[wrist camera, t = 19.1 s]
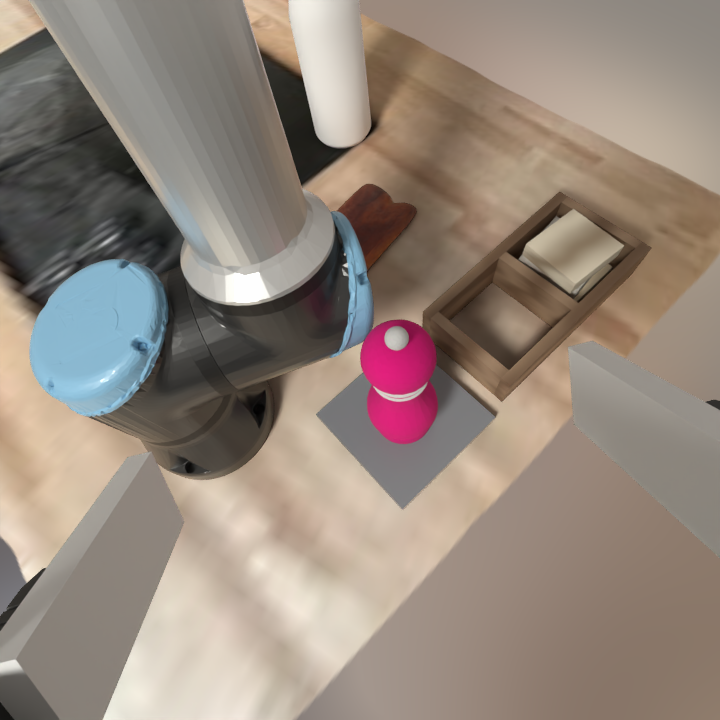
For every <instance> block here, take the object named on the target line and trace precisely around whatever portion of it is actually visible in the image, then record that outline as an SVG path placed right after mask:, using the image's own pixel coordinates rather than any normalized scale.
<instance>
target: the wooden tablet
mask: <svg viewBox="0 0 720 720" xmlns="http://www.w3.org/2000/svg"><path fill="white" fill-rule="evenodd" d="M337 212H340V213H342V214H343V215H345V217H346V218H347V219H348V220H349V222H350V224H351V226H352V228H353V230H354V232H355V234H356V236H357V238H358V241H359V244H360V246H361V249H362V252H363V255H364V259H365V262H366V267H367V270H368V269H369V268H370V267H371V266H372V265H373V263H374V262H375V261H376V260H377V259H378V258H379V257H380V256H381V254H382V253H383V252H384V251H385V250H386V249H387V248H388V247H389V246H390V244H391V243H392V242H393V241H394V240H395V239H396V238H397V237H398V236H399V235H400V234H401V232H402V231H403V230H404V229H405V228H406V227H407V226H408V224H409V223H410V222H411V220H412V219H413V217H414V216H415V214H416V212H417V210H416V208H415V207H414V206H412V205H410V204H407V203H393V202H392V199H391V198H390V196H389V195H388V194H387V193H386V192H385V191H383V190H382V189H381V188H379V187H377V186H375V185H373V184H366V185H364V186H362V187H361V188H360V189H359V190H358V191H357V192H356V193H354V194H353V195H352V196H351V197H350V198H349V199H348V200H347V201H346V202H345V203H344V204H343V205H342V206H341V207H340V208H339V209H338V211H337Z"/></svg>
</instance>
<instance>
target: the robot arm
mask: <svg viewBox="0 0 720 720" xmlns="http://www.w3.org/2000/svg"><path fill="white" fill-rule="evenodd" d="M29 2H30V3H31V5H32V6H33V8H34V10H35V11H36V13H37V14H38V16H39V17H40V19H41V20H42V22H43V23H44V25H45V26H46V28H47V29H48V31H49V32H50V34H51V35H52V37H53V38H54V40H55V41H56V43H57V45H58V46H59V48H60V49H61V51H62V52H63V54H64V55H65V57H66V58H67V60H68V61H69V63H70V64H71V66H72V67H73V69H74V70H75V72H76V73H77V75H78V76H79V78H80V79H81V81H82V83H83V84H84V86H85V87H86V89H87V90H88V92H89V93H90V95H91V96H92V98H93V99H94V101H95V102H96V104H97V105H98V107H99V108H100V110H101V111H102V113H103V114H104V116H105V118H106V119H107V121H108V122H109V124H110V125H111V127H112V128H113V130H114V131H115V133H116V134H117V136H118V137H119V139H120V140H121V142H122V143H123V145H124V146H125V148H126V149H127V151H128V153H129V154H130V156H131V157H132V159H133V160H134V162H135V163H136V165H137V166H138V168H139V169H140V171H141V172H142V174H143V175H144V177H145V178H146V180H147V181H148V183H149V184H150V186H151V188H152V189H153V191H154V192H155V194H156V195H157V197H158V198H159V200H160V201H161V203H162V204H163V206H164V207H165V209H166V210H167V212H168V213H169V215H170V216H171V218H172V219H173V221H174V223H175V224H176V226H177V227H178V229H179V230H180V232H181V233H182V235H183V236H184V238H185V240H184V243H183V245H182V249H181V266H180V267H178V268H175V269H172V270H169V271H166V272H164V273H161V274H158V275H156V274H155V273H154V272H153V271H152V270H150V269H149V268H148V267H146V266H143V265H140V264H138V263H130V262H129V261H127V260H124V259H111V260H106V261H101V262H98V263H95V264H92V265H90V266H88V267H86V268H84V269H82V270H80V271H78V272H77V273H75V274H74V275H72V276H71V277H70V278H69V279H67V280H66V281H65V282H64V283H63V284H61V285H60V286H59V287H58V288H57V290H56V291H55V292H54V293H53V294H52V295H51V297H50V298H49V299H48V302H47V304H46V306H45V307H44V308H43V310H42V311H41V312H40V314H39V316H38V318H37V320H36V322H35V325H34V328H33V331H32V335H31V340H30V362H31V367H32V370H33V373H34V376H35V378H36V379H37V381H38V383H39V384H40V385H41V387H42V388H43V389H44V390H45V391H46V392H47V393H48V394H50V395H51V396H52V397H54V398H56V399H57V400H59V401H61V402H63V403H64V404H66V405H67V406H68V407H69V408H70V409H71V410H73V411H75V412H77V413H78V414H80V415H83V416H87V417H90V418H92V419H94V420H97V421H99V422H101V423H104V424H106V425H108V426H111V427H113V428H115V429H118V430H120V431H122V432H125V433H127V434H129V435H132V436H134V437H136V438H139V439H141V441H142V443H143V444H144V446H145V448H146V449H147V451H148V452H147V453H143V454H139V455H135V456H131V457H127V459H126V460H125V461H124V463H123V464H122V465H121V467H120V468H119V470H118V471H117V472H116V474H115V475H114V476H113V478H112V479H111V480H110V482H109V483H108V485H107V486H106V487H105V489H104V490H103V491H102V493H101V494H100V496H99V497H98V498H97V500H96V501H95V502H94V504H93V505H92V506H91V508H90V509H89V511H88V512H87V513H86V515H85V516H84V517H83V519H82V520H81V522H80V523H79V524H78V526H77V527H76V528H75V530H74V531H73V532H72V534H71V535H70V537H69V538H68V539H67V541H66V542H65V543H64V545H63V546H62V548H61V549H60V550H59V552H58V553H57V554H56V556H55V557H54V558H53V560H52V561H51V563H50V564H49V565H48V567H47V568H44V569H42V570H41V571H40V572H39V573H38V574H37V575H35V576H34V577H33V578H32V579H31V580H30V581H29V582H28V583H27V584H25V585H24V586H23V587H22V588H21V590H20V591H19V592H18V594H17V595H16V596H15V597H14V599H13V600H12V602H11V603H10V604H9V605H8V607H7V611H6V612H3V614H2V615H1V616H0V720H102V719H103V717H104V715H105V712H106V710H107V707H108V705H109V703H110V700H111V698H112V695H113V693H114V690H115V688H116V686H117V683H118V681H119V678H120V676H121V674H122V671H123V669H124V666H125V664H126V662H127V659H128V657H129V654H130V652H131V649H132V647H133V645H134V642H135V640H136V637H137V635H138V633H139V630H140V628H141V625H142V623H143V620H144V618H145V616H146V613H147V611H148V608H149V606H150V604H151V601H152V599H153V596H154V594H155V592H156V589H157V587H158V584H159V582H160V579H161V577H162V575H163V572H164V570H165V567H166V565H167V563H168V560H169V558H170V555H171V553H172V550H173V548H174V546H175V543H176V541H177V538H178V536H179V534H180V531H181V529H182V526H183V524H184V520H183V517H182V515H181V513H180V511H179V509H178V507H177V505H176V503H175V500H174V498H173V496H172V494H171V492H170V490H169V488H168V486H167V483H166V481H165V479H164V477H163V475H162V473H161V471H160V468H159V466H158V464H159V465H160V466H162V467H163V468H165V469H166V470H168V471H170V472H172V473H175V474H177V475H180V476H182V477H185V478H189V479H196V480H208V479H214V478H218V477H222V476H225V475H227V474H229V473H232V472H233V471H235V470H237V469H239V468H240V467H242V466H243V465H244V464H246V463H247V462H248V461H249V460H250V459H251V458H252V457H253V456H254V455H255V454H256V453H257V452H258V451H259V449H260V448H261V446H262V445H263V443H264V442H265V440H266V438H267V436H268V434H269V431H270V429H271V426H272V422H273V416H274V399H273V394H272V391H271V388H270V386H269V383H268V382H267V380H269V379H271V378H274V377H277V376H280V375H282V374H285V373H288V372H291V371H293V370H296V369H299V368H302V367H304V366H307V365H310V364H313V363H315V362H318V361H321V360H324V359H326V358H332V357H336V356H337V355H339V354H341V353H342V352H343V351H344V350H346V349H349V348H351V347H353V346H355V345H358V344H360V343H362V342H363V341H364V340H365V338H366V337H367V335H368V334H369V333H370V332H371V330H372V327H373V321H374V304H373V295H372V289H371V284H370V282H369V279H368V278H367V267H366V262H365V259H364V255H363V252H362V249H361V246H360V244H359V241H358V238H357V236H356V234H355V232H354V230H353V228H352V226H351V224H350V222H349V220H348V219H347V218H346V217H345V215H343V214H342V213H340V212H336V211H332V212H330V211H329V209H328V207H327V206H326V205H325V204H324V202H323V201H322V200H321V199H320V198H319V197H317V196H316V195H314V194H313V193H311V192H309V191H307V190H304V189H302V187H301V184H300V181H299V178H298V175H297V171H296V168H295V165H294V162H293V159H292V155H291V152H290V149H289V146H288V142H287V139H286V136H285V133H284V130H283V126H282V123H281V120H280V117H279V114H278V110H277V107H276V104H275V101H274V97H273V94H272V91H271V88H270V85H269V81H268V78H267V75H266V72H265V69H264V65H263V62H262V59H261V56H260V52H259V49H258V46H257V43H256V40H255V36H254V33H253V30H252V27H251V24H250V20H249V17H248V14H247V11H246V8H245V4H244V1H243V0H29ZM568 353H569V366H570V380H571V393H572V407H573V420H574V425H575V426H576V427H577V428H579V430H580V431H582V432H583V433H584V434H585V435H586V436H587V437H588V438H589V439H590V440H591V441H592V442H594V443H595V444H596V445H597V446H598V447H599V448H600V449H601V450H603V452H604V453H606V454H607V455H608V456H609V457H610V458H611V459H612V460H613V461H614V462H615V463H617V464H618V465H619V466H620V467H621V468H622V469H623V470H624V471H625V472H626V473H627V474H629V475H630V476H631V477H632V478H633V479H634V480H635V481H636V482H637V483H638V484H639V485H641V486H642V487H643V488H644V489H645V490H646V491H647V492H648V493H649V494H650V495H651V496H653V497H654V498H655V499H656V500H657V501H658V502H659V503H660V504H661V505H662V506H663V507H665V508H666V509H667V510H668V511H669V512H670V513H671V514H672V515H673V516H674V517H675V518H677V519H678V520H679V521H680V522H681V523H682V524H683V525H684V526H685V527H686V528H687V529H689V530H690V531H691V532H692V533H693V534H694V535H695V536H696V537H697V538H698V539H699V540H701V541H702V542H703V543H704V544H705V545H706V546H707V547H708V548H709V549H710V550H712V551H713V552H714V553H715V554H716V555H717V556H718V557H719V558H720V401H717V400H711V401H707V402H704V401H702V400H700V399H698V398H696V397H695V396H693V395H691V394H689V393H687V392H686V391H684V390H682V389H680V388H678V387H676V386H675V385H673V384H671V383H669V382H667V381H665V380H664V379H662V378H660V377H658V376H656V375H654V374H653V373H651V372H649V371H647V370H645V369H643V368H641V367H640V366H638V365H636V364H634V363H632V362H630V361H629V360H627V359H625V358H623V357H621V356H619V355H618V354H616V353H614V352H612V351H610V350H608V349H607V348H605V347H603V346H601V345H599V344H597V343H596V342H594V341H590V342H586V343H582V344H578V345H574V346H570V347H568ZM157 463H158V464H157Z"/></svg>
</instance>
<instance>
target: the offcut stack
mask: <svg viewBox="0 0 720 720" xmlns="http://www.w3.org/2000/svg"><path fill="white" fill-rule="evenodd" d="M623 247H624V245H623V244H621V243H620V242H619V241H617V240H616V239H614V238H613V237H612V236H610V235H609V234H608V233H606V232H605V231H603V230H602V229H601V228H599V227H598V226H597V225H595V224H594V223H592V222H591V221H590V220H588V219H587V218H586V217H584V216H583V215H581V214H580V213H579V212H577V211H576V210H575V209H572V210H571V211H570V212H568V213H567V214H566V215H564V216H563V217H562V218H559V217H557V216H556V217H555V218H554V219H553V220H552V221H551V223H550V224H549V225H548V226H547V227H546V228H545V229H544V230H543V232H541V233H540V234H539V235H537V236H536V237H535V238H533V239H532V240H531V241H529V242H528V243H527V244H526V245H525V248H524V251H523V254H522V255H521V256H520V258H519V259H518V261H520V262H521V263H523V264H524V265H525V266H527V267H528V268H530V269H531V270H532V271H534V272H535V273H537V274H538V275H540V276H541V277H542V278H544V279H545V280H547V281H548V282H549V283H551V284H552V285H554V286H555V287H556V288H558V289H559V290H561V291H562V292H564V293H565V294H566V295H568V296H569V297H571V298H572V299H573V300H575V301H576V302H578V303H579V302H580V301H581V300H582V299H583V298H584V297H585V296H586V295H588V294H589V293H590V292H591V291H592V290H593V289H594V288H595V287H596V286H597V285H598V284H599V283H600V282H601V281H602V280H603V279H604V278H605V277H606V276H607V275H608V274H609V272H610V271H611V269H612V266H611V265H609V263H610V262H611V261H612V260H614V259H615V258H616V257H617V256H618V255H619V253H620V252H621V250H622V249H623Z"/></svg>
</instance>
